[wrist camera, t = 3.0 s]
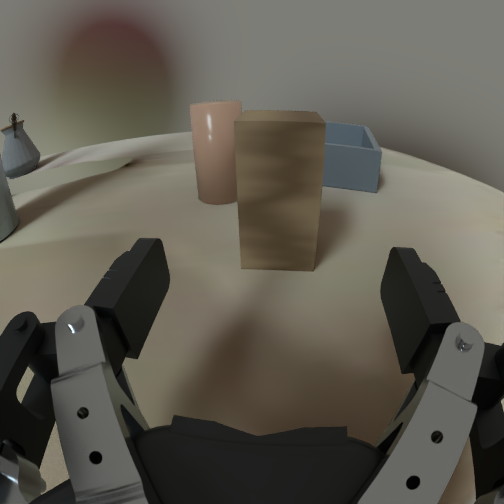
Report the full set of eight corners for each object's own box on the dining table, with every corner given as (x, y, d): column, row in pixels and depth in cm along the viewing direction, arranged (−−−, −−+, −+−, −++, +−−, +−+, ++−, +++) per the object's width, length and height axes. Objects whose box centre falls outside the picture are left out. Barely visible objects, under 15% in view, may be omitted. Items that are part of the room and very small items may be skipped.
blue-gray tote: (262, 179, 35) (261, 139, 32) (286, 146, 49) (287, 118, 46) (376, 192, 32) (381, 151, 29) (365, 154, 46) (367, 126, 43)
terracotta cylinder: (190, 202, 30) (180, 107, 24) (209, 185, 34) (202, 101, 28) (236, 206, 29) (231, 104, 23) (250, 187, 33) (247, 99, 27)
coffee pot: (3, 178, 53) (-8, 125, 45) (39, 161, 60) (30, 109, 52) (4, 194, 41) (-13, 123, 33) (52, 172, 48) (39, 103, 39)
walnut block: (241, 268, 21) (233, 121, 15) (249, 232, 25) (244, 110, 19) (313, 271, 20) (325, 123, 15) (309, 234, 24) (316, 112, 19)
